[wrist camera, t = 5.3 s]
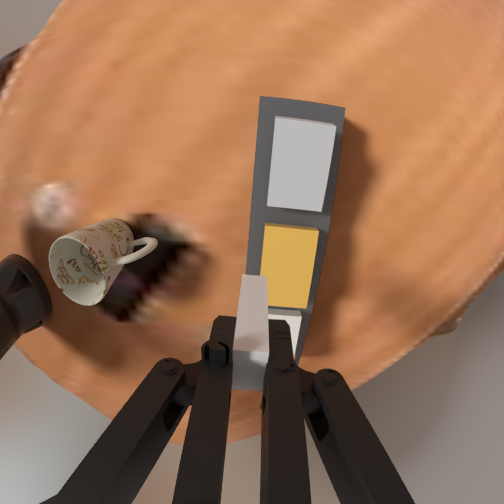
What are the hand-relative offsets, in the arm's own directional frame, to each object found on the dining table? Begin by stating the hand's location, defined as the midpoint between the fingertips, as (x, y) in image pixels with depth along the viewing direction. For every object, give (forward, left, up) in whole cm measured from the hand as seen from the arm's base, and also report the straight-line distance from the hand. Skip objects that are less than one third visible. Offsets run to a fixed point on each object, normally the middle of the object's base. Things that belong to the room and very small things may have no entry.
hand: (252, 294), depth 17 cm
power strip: (+3, -6, -16) cm, 17 cm away
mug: (-17, -4, -16) cm, 24 cm away
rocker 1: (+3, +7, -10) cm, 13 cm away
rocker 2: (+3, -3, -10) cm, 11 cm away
